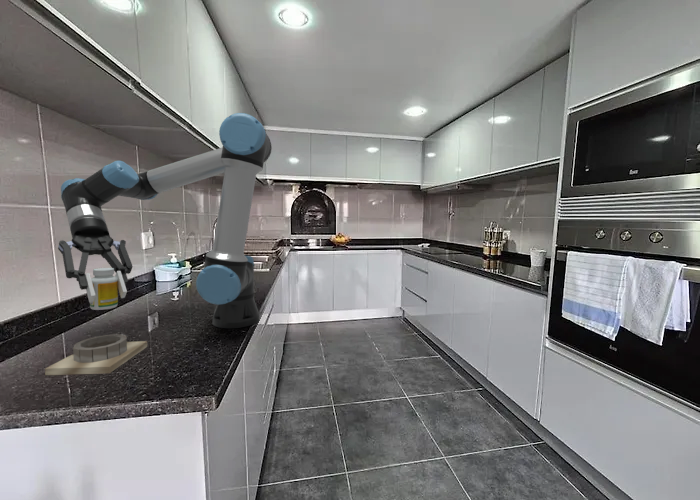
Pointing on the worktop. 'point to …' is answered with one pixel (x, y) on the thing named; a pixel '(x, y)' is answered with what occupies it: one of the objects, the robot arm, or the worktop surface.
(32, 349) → the worktop surface
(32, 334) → the worktop surface
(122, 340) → the jig plate
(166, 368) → the worktop surface
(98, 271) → the supplement bottle
